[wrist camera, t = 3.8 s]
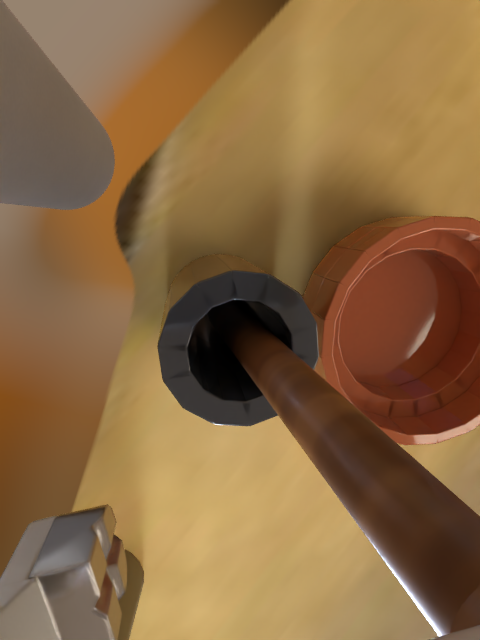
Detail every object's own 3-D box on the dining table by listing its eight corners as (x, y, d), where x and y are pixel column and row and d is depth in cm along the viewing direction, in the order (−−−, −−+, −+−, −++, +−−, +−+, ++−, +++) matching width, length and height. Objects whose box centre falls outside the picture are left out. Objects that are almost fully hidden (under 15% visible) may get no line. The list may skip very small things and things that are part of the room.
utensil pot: (152, 340, 27) (137, 404, 18) (186, 237, 26) (189, 246, 16) (249, 368, 29) (285, 443, 19) (285, 272, 27) (343, 300, 18)
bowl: (267, 377, 29) (287, 412, 24) (340, 187, 27) (380, 178, 21) (430, 425, 32) (480, 466, 26) (508, 257, 29) (581, 264, 24)
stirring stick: (200, 319, 26) (479, 741, 6) (211, 289, 26) (546, 622, 5) (230, 328, 27) (573, 732, 6) (240, 298, 27) (637, 627, 6)
